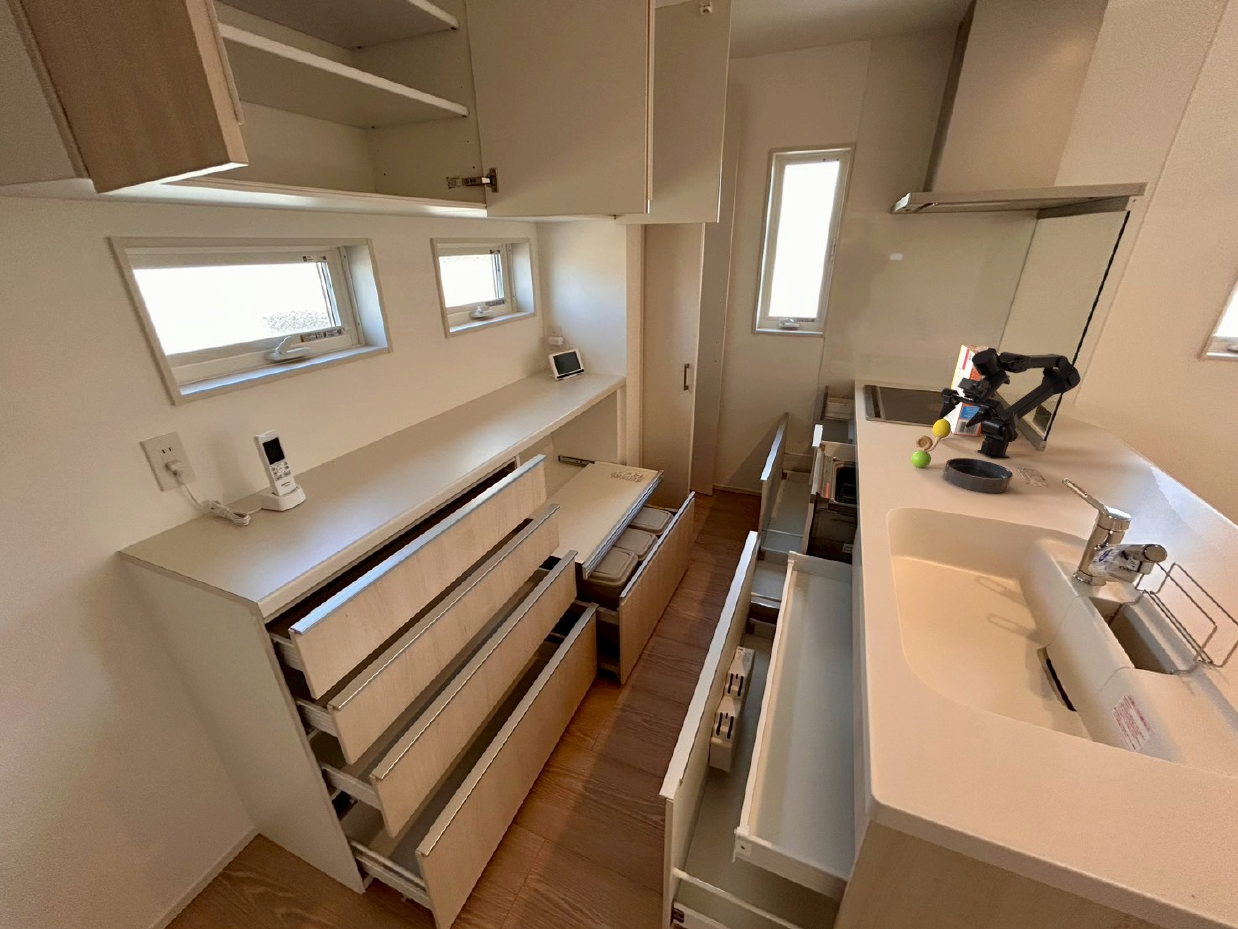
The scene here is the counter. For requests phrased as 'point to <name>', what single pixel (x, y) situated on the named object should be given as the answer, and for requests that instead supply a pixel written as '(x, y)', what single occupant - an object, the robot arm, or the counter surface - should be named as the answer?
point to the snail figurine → (924, 451)
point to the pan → (977, 475)
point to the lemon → (942, 428)
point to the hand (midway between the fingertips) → (952, 422)
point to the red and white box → (964, 411)
